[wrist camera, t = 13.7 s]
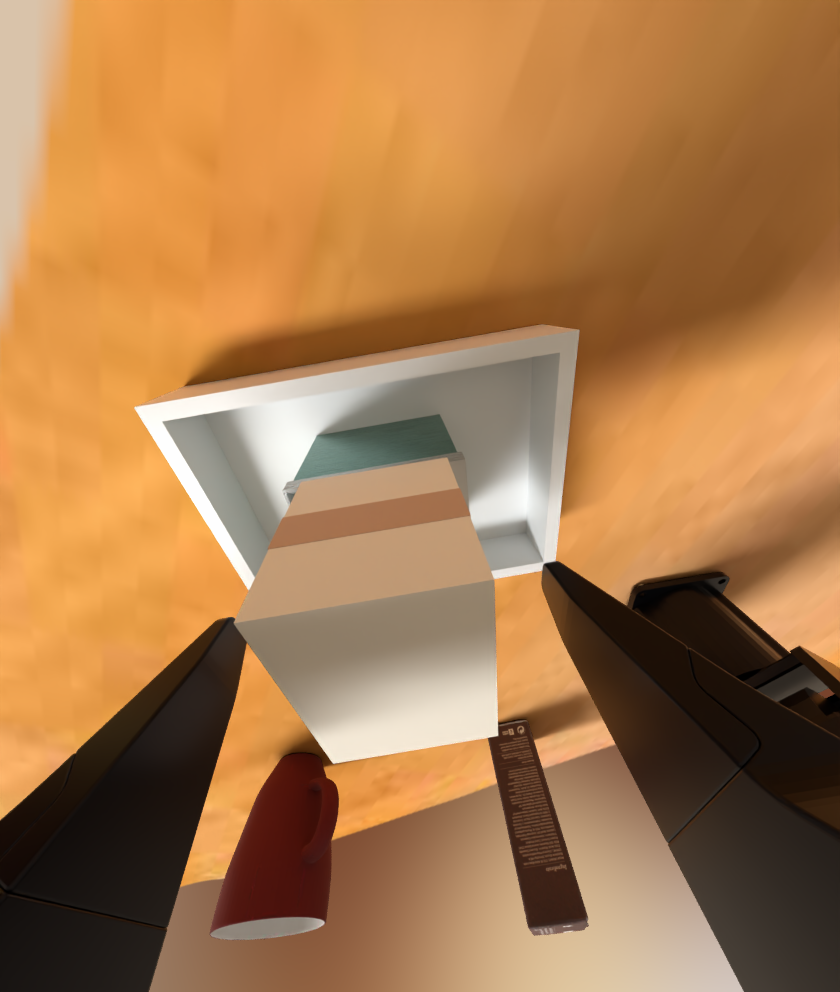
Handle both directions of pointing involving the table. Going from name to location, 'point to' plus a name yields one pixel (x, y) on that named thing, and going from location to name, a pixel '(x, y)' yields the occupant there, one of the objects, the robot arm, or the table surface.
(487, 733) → the carton
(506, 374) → the tote
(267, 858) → the mug
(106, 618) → the table surface
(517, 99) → the table surface
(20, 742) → the table surface
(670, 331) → the table surface
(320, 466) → the tin
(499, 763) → the box
